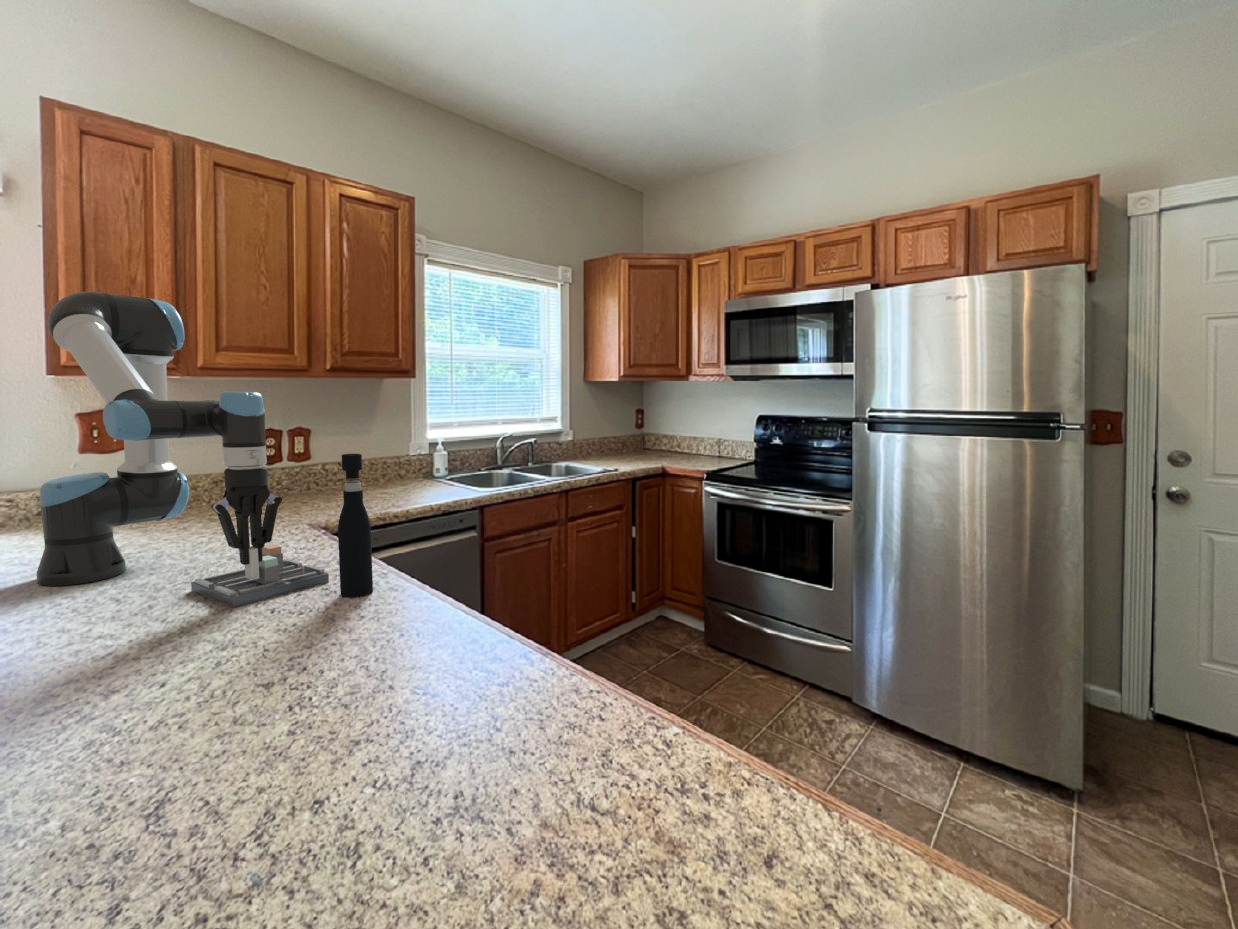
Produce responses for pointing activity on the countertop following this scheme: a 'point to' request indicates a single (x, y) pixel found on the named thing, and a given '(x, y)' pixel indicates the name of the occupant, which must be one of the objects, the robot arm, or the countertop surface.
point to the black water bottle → (354, 535)
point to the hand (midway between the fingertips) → (252, 578)
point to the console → (258, 584)
